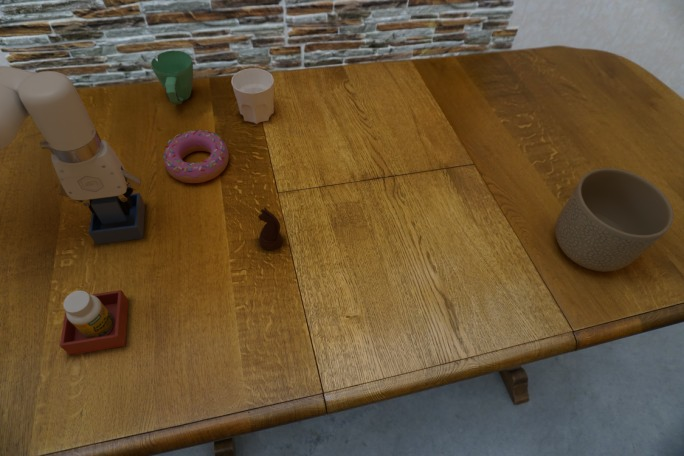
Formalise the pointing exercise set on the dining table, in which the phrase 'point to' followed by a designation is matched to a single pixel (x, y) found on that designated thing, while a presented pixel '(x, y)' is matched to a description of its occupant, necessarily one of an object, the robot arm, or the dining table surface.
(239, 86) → the cup
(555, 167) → the dining table surface
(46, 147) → the robot arm
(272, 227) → the chess piece
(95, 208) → the blue block
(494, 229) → the dining table surface
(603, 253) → the planter
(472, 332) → the dining table surface
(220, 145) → the donut
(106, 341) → the red bin
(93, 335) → the supplement bottle
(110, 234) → the blue bin
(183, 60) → the mug
